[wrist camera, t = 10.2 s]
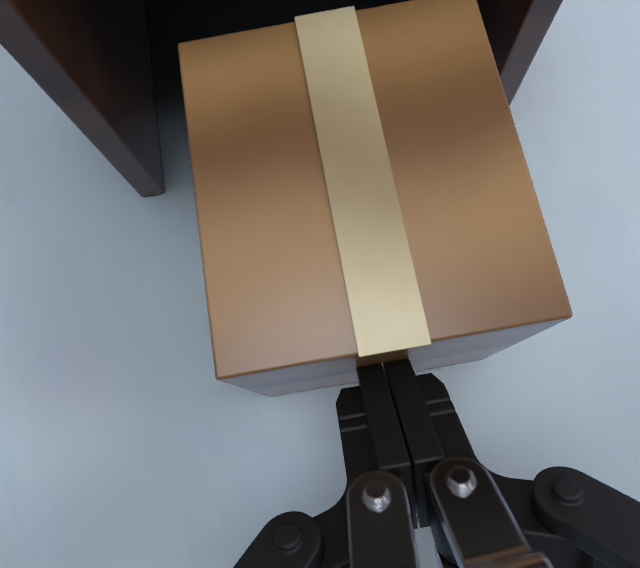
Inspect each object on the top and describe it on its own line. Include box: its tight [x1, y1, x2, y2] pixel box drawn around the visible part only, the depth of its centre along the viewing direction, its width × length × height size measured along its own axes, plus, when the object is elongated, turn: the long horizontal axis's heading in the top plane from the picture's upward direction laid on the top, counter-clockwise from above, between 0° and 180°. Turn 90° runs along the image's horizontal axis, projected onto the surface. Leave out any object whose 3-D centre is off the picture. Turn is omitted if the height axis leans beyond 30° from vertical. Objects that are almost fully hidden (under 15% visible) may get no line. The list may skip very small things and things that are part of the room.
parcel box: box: [178, 0, 572, 397], centre depth 16 cm, size 9×8×8 cm
